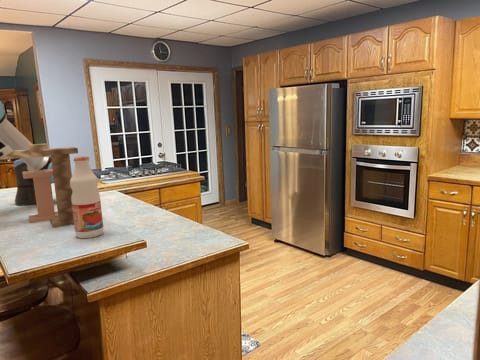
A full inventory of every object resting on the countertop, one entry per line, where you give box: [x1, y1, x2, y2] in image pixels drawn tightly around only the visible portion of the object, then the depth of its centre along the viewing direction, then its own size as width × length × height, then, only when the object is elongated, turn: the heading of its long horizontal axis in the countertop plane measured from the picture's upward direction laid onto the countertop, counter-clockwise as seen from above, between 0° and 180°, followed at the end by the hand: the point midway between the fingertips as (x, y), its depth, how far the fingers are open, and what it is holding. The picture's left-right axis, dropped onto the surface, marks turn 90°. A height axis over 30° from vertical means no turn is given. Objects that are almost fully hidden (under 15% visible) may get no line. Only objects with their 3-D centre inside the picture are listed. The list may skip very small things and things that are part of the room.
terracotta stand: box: [22, 169, 59, 224], centre depth 153 cm, size 13×8×20 cm, turn 123°
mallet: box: [0, 143, 49, 160], centre depth 147 cm, size 20×7×5 cm, turn 123°
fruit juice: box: [70, 155, 104, 239], centre depth 128 cm, size 9×9×28 cm
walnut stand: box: [41, 146, 79, 228], centre depth 145 cm, size 12×9×30 cm
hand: (10, 148), depth 145 cm, fingers closed on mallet, 3 cm apart
